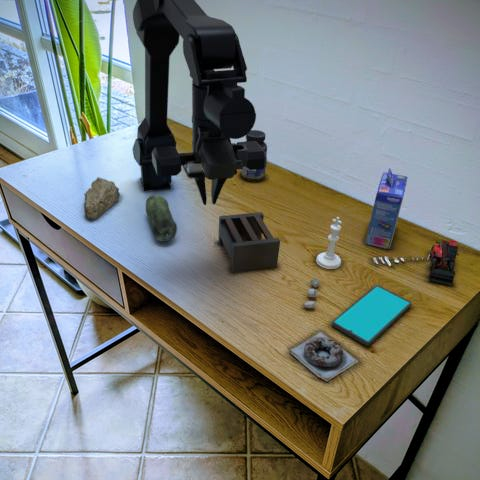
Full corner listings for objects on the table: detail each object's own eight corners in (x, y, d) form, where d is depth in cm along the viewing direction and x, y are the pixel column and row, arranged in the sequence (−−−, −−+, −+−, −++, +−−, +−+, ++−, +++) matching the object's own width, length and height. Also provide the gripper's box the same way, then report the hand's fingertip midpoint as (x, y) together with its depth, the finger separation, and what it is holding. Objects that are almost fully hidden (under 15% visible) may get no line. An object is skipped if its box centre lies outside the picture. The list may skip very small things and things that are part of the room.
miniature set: (370, 258, 100) (373, 252, 98) (423, 255, 102) (426, 249, 101) (376, 267, 97) (379, 261, 96) (430, 264, 100) (433, 257, 99)
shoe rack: (232, 272, 94) (234, 246, 90) (218, 241, 101) (219, 216, 97) (277, 267, 96) (280, 240, 92) (259, 237, 104) (262, 211, 100)
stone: (62, 204, 103) (72, 225, 106) (92, 200, 101) (102, 221, 104) (89, 178, 113) (98, 197, 116) (117, 173, 111) (125, 193, 114)
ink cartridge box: (369, 222, 111) (385, 160, 101) (394, 227, 110) (413, 165, 100) (363, 244, 104) (379, 180, 94) (389, 250, 103) (409, 185, 93)
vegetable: (140, 194, 105) (163, 187, 105) (147, 214, 108) (168, 208, 109) (151, 229, 95) (176, 221, 96) (158, 250, 99) (182, 243, 99)
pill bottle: (264, 183, 122) (268, 139, 115) (240, 181, 122) (242, 137, 115) (264, 172, 127) (268, 129, 120) (240, 170, 127) (243, 127, 120)
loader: (452, 286, 94) (460, 266, 91) (427, 281, 95) (435, 261, 92) (451, 254, 103) (459, 234, 100) (428, 249, 104) (436, 230, 101)
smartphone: (412, 302, 88) (368, 343, 80) (411, 306, 89) (367, 346, 80) (376, 284, 92) (331, 321, 83) (375, 287, 92) (330, 325, 84)
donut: (287, 350, 78) (289, 341, 77) (321, 332, 82) (323, 323, 81) (324, 383, 74) (327, 373, 72) (358, 361, 78) (361, 352, 76)
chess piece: (334, 272, 96) (344, 227, 89) (311, 263, 97) (320, 218, 91) (344, 260, 99) (355, 216, 92) (322, 252, 101) (331, 208, 94)
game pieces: (320, 283, 92) (309, 284, 93) (319, 274, 91) (308, 275, 91) (315, 312, 87) (304, 312, 87) (314, 303, 85) (303, 303, 86)
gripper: (160, 138, 70) (165, 232, 81) (282, 131, 75) (272, 221, 85) (148, 111, 78) (154, 200, 88) (259, 106, 83) (253, 191, 93)
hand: (208, 203), depth 89 cm, fingers closed
